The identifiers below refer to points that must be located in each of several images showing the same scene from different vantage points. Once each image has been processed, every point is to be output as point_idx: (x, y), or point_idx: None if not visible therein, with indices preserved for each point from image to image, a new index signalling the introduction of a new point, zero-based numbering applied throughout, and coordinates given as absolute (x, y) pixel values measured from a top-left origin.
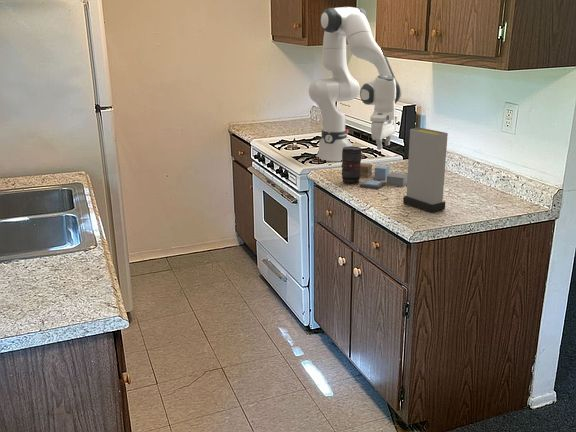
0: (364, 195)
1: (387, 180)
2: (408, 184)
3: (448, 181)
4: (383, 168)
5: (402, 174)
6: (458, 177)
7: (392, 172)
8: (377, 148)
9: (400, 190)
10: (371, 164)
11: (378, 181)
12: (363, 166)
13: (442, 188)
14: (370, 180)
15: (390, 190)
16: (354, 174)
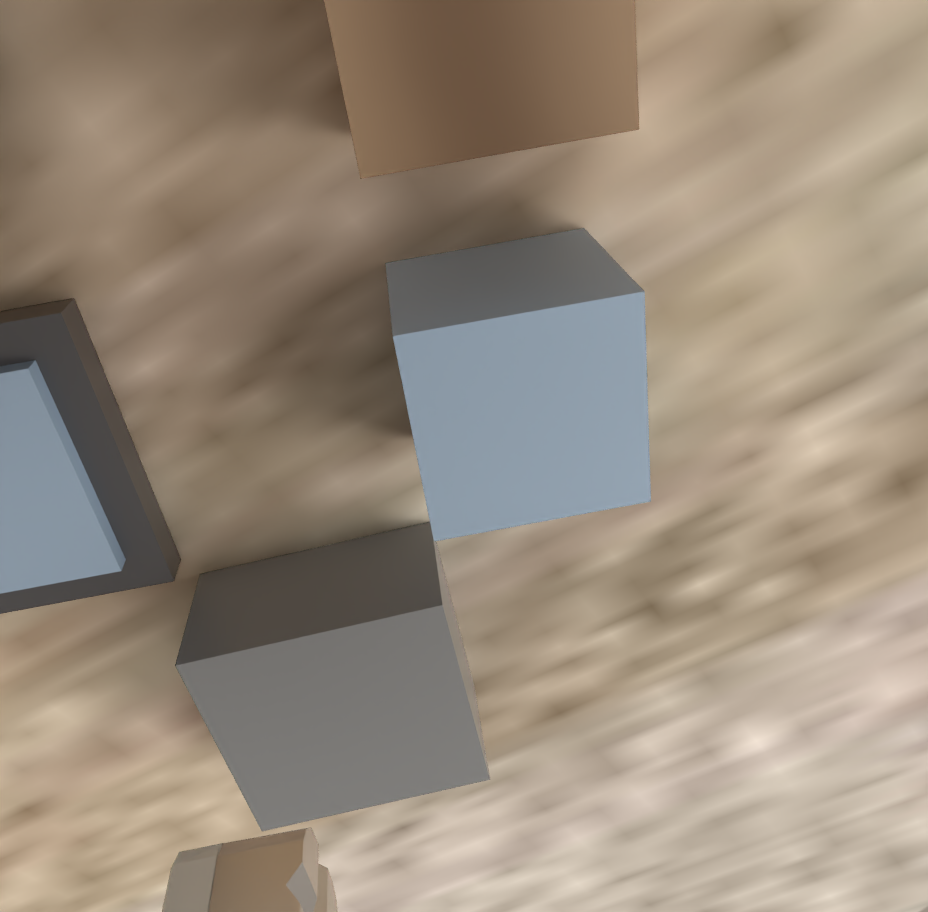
0: None
1: (190, 625)
2: None
3: (732, 888)
4: (433, 501)
5: (416, 752)
6: (913, 879)
7: (433, 618)
8: (177, 875)
9: (109, 782)
10: (618, 117)
11: (80, 537)
12: (334, 38)
13: None
14: (26, 416)
15: (11, 720)
16: None
